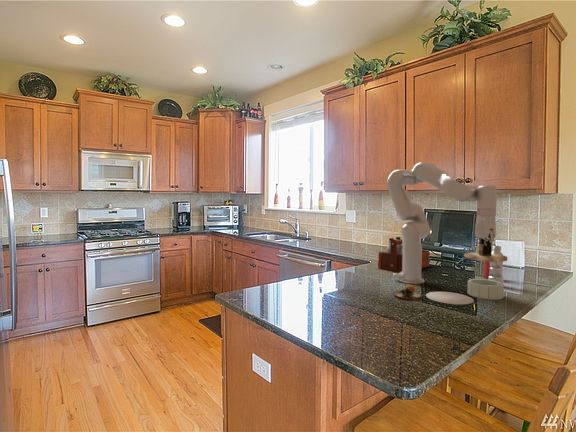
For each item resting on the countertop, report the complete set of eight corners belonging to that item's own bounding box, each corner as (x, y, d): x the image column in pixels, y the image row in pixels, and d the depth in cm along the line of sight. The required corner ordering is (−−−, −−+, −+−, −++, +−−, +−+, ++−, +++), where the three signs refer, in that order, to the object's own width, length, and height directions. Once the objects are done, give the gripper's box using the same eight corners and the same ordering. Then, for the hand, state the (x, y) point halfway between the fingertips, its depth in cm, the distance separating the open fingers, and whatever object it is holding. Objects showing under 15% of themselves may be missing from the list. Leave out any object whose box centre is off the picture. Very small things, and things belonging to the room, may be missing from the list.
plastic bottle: (498, 287, 169) (499, 247, 168) (484, 284, 175) (486, 245, 174) (505, 286, 172) (507, 246, 171) (492, 283, 178) (493, 244, 177)
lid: (473, 261, 146) (474, 246, 146) (457, 254, 163) (458, 241, 163) (515, 262, 145) (516, 247, 144) (495, 255, 162) (495, 242, 161)
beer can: (496, 278, 189) (497, 256, 189) (498, 280, 183) (499, 258, 183) (483, 276, 192) (483, 255, 191) (484, 279, 186) (484, 257, 185)
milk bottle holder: (431, 265, 223) (432, 236, 222) (408, 274, 198) (409, 241, 197) (400, 261, 238) (401, 233, 237) (375, 269, 212) (376, 238, 211)
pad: (434, 304, 142) (434, 303, 142) (420, 291, 161) (420, 291, 161) (482, 305, 141) (482, 304, 141) (462, 292, 159) (462, 292, 159)
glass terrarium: (401, 292, 161) (401, 277, 160) (426, 298, 152) (426, 281, 152) (388, 298, 152) (388, 281, 152) (414, 303, 144) (414, 286, 143)
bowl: (476, 299, 149) (476, 286, 149) (462, 290, 163) (462, 278, 163) (509, 300, 148) (510, 286, 147) (493, 291, 162) (493, 279, 161)
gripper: (469, 212, 162) (468, 250, 162) (486, 213, 145) (485, 256, 146) (486, 212, 161) (485, 251, 162) (504, 213, 145) (503, 257, 145)
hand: (485, 253), depth 154 cm, fingers closed on lid, 3 cm apart
